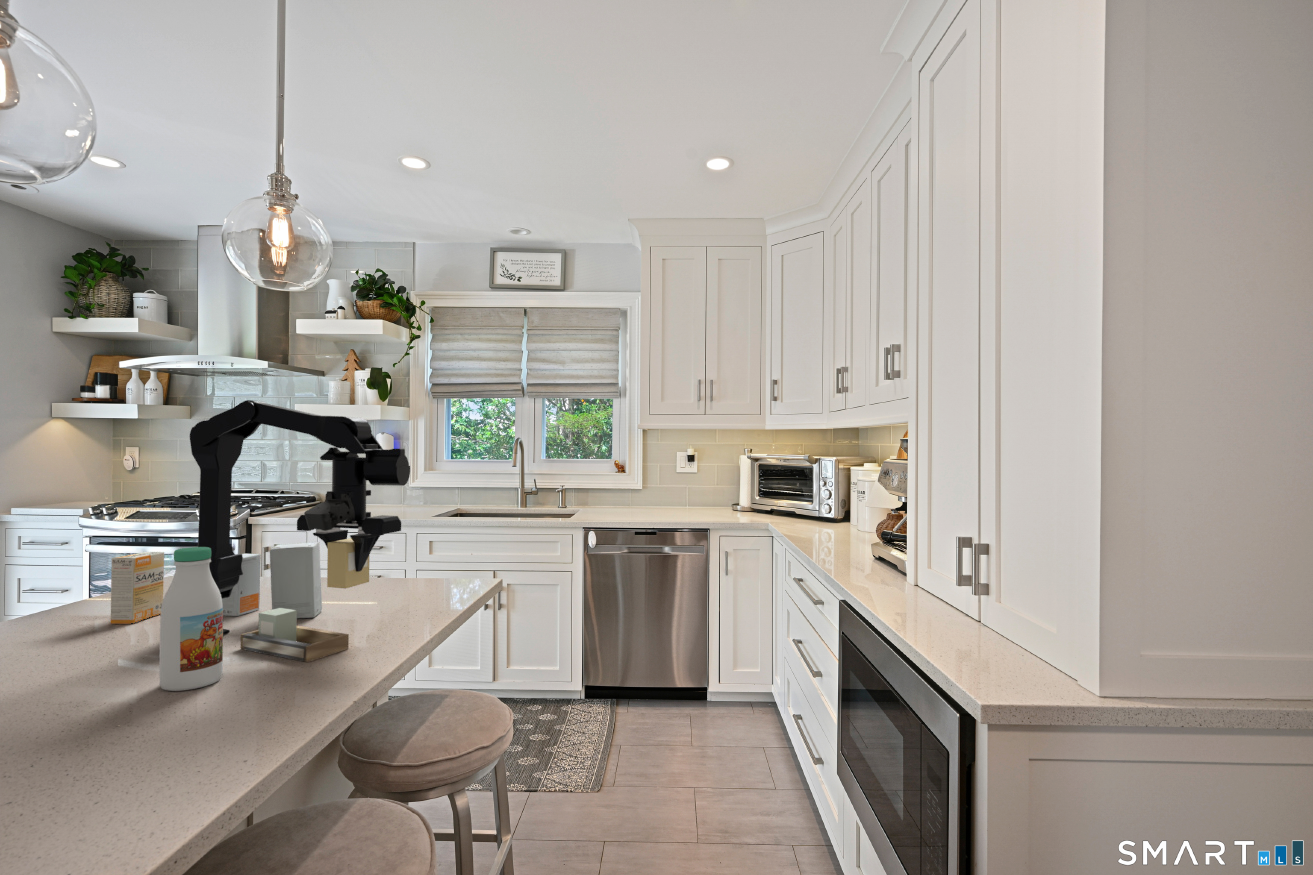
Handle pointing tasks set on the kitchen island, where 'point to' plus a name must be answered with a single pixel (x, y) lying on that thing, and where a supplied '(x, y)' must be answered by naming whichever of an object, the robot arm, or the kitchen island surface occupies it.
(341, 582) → the ochre carton
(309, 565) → the skincare box
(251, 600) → the skincare box
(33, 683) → the kitchen island surface
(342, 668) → the kitchen island surface
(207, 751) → the kitchen island surface
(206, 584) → the milk bottle
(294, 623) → the sage carton
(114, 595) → the supplement box
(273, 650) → the tray
